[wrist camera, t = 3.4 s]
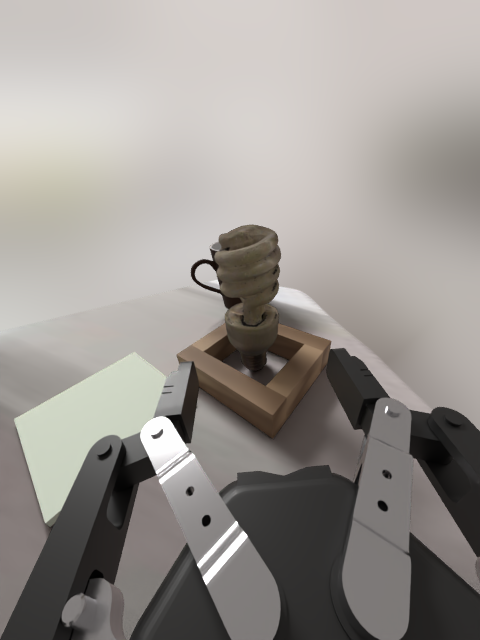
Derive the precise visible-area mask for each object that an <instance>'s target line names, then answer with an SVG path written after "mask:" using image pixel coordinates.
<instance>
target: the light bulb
mask: <svg viewBox="0 0 480 640" xmlns="http://www.w3.org/2000/svg"><path fill="white" fill-rule="evenodd" d="M219 243H220V245H221V249H220V250H219V251H217V252H216V253H215V262H216V263H217V264H218V265H219V268H218V270H217V277H218V278H219V279H220V280H221V281H222V284H221V285H220V290H221V292H222V293H223V294H224V295H225V296H227V297H231V298H240V299H241V301H242V303H239V304H236V305H234V306H232V307H231V308H230V309H229V310H228V311H227V312H226V314H225V324H226V330H227V335H228V339H229V341H230V343H231V344H232V345H233V346H234V347H235V348H236V349H238V351H240V354H241V362H242V363H243V364H244V366H245V367H246V368H247V369H249V370H252V371H255V370H260V369H261V368H263V366H264V365H265V364H266V362H267V358H266V352H267V350H268V348H269V347H270V346H271V345H273V343H274V342H275V340H276V337H277V333H278V325H279V313H278V311H277V309H276V308H274V307H273V306H271V305H269V304H267V303H269V302H270V301H271V300H272V299H274V297H275V296H276V294H277V292H278V289H279V283H278V280H277V279H278V277H279V273H280V268H279V265H278V262H279V261H280V259H281V252H280V248H279V246H278V245H277V244H278V236H277V234H276V233H275V231H273V230H271V229H269V228H266V227H262V226H258V225H245V226H241V227H238V228H236V229H234V230H231V231H230V232H228V233H225V234H221V235H220V236H219Z"/></svg>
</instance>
